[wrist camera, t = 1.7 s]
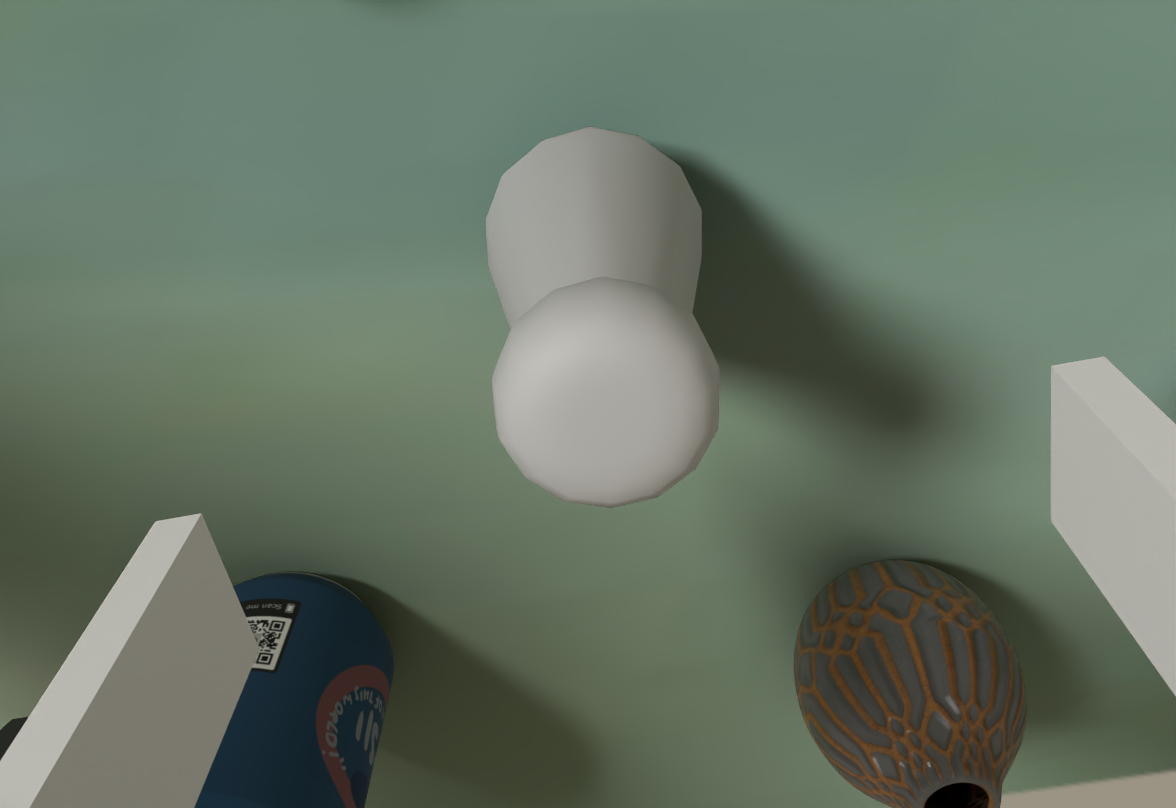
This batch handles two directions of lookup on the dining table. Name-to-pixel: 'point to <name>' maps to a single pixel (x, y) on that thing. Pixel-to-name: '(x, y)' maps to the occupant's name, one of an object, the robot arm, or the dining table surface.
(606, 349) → the salt shaker
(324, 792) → the soda can
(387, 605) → the dining table surface
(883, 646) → the vase
